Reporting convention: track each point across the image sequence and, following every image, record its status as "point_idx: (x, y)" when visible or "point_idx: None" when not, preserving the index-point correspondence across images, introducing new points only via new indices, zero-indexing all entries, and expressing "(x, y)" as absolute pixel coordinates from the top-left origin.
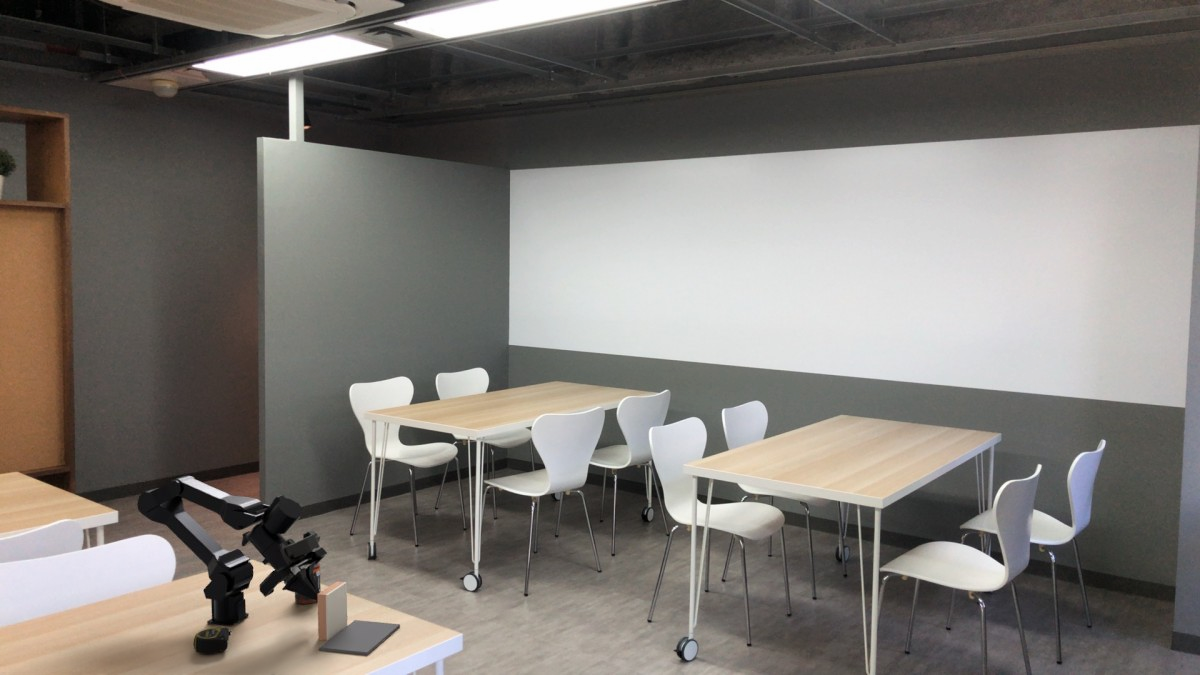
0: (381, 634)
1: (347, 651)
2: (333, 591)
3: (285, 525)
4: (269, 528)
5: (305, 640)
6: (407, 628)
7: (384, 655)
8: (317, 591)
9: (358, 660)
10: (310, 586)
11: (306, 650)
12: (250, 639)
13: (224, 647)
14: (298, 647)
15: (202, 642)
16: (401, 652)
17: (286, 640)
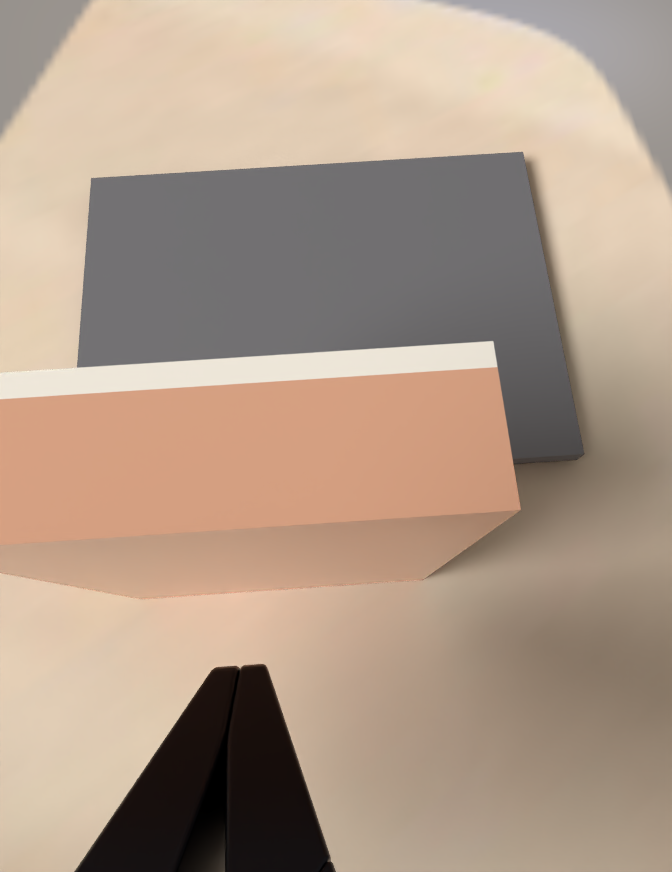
0: (267, 200)
1: (542, 267)
2: (323, 353)
3: None
4: None
5: (472, 667)
6: (111, 145)
7: (483, 92)
8: (216, 734)
9: (592, 175)
10: (301, 851)
11: (613, 545)
12: None
13: None
14: (597, 638)
15: None
16: (419, 41)
17: (529, 835)
